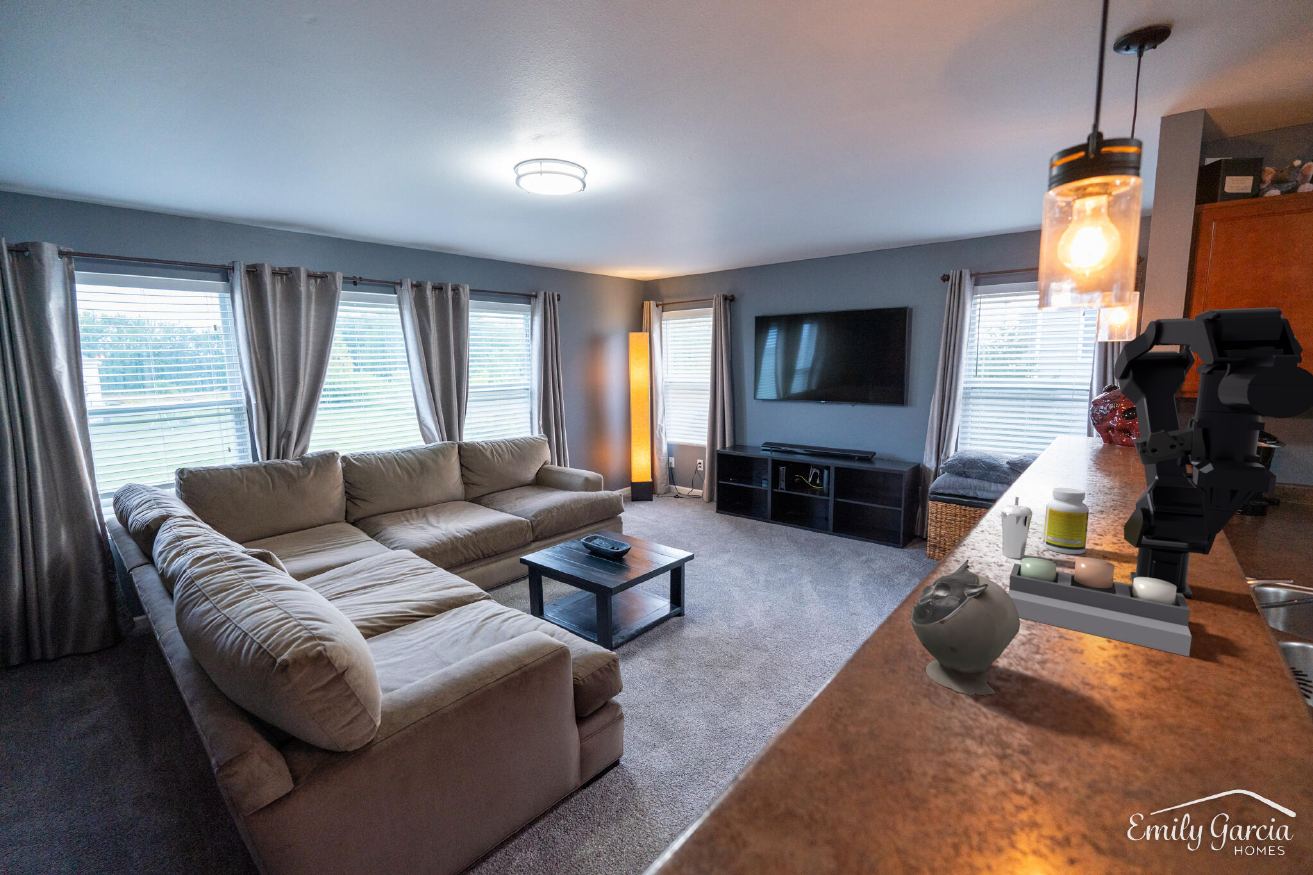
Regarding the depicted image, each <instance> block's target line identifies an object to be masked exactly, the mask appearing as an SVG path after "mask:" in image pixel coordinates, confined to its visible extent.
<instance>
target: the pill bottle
mask: <svg viewBox="0 0 1313 875" xmlns="http://www.w3.org/2000/svg"><path fill="white" fill-rule="evenodd" d="M1052 497H1053V499H1051V500H1049V501H1047V503H1046V508H1045V515H1044V517H1045V518H1044V530H1043V541H1042V542H1043V543H1042V544H1043V547H1044V548H1046V549H1047V550H1049V551H1052V552H1056V553H1059V554H1060V553H1061V554H1065V555H1066V554H1067V555H1081V554H1083V553H1085V552H1086V545H1087V535H1088V525H1089V516H1090V515H1089V514H1090V513H1089V512H1090V509H1089V506H1088V505H1087V504H1086V503H1084V501H1085V499H1086V492H1085V491H1084V490H1081V489H1077V488H1071V487H1070V488H1069V487H1054V488H1053V489H1052Z"/></svg>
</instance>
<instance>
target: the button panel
mask: <svg viewBox="0 0 1313 875" xmlns="http://www.w3.org/2000/svg"><path fill="white" fill-rule="evenodd" d="M1020 574H1021V563H1020V564H1019V563H1013V567H1012V569H1011V572H1010V576H1009V586H1008V587H1009V588H1008V591H1007V593H1008V595H1009V596H1010V597H1011V599H1012V601H1013V602H1014V604H1015V607H1016V609H1017V612H1018V616H1019V619H1024V620H1029V621H1033V622H1038V623H1041V624H1045V625H1050V626H1055V627H1059V628H1062V629H1067V630H1068V629H1069V630H1072V631H1077V632H1081V633H1085V634H1089V635H1093V636H1099V637H1103V638H1106V639H1110V640H1114V641H1115V640H1116V641H1120V642H1124V643H1128V644H1133V645H1137V646H1142V647H1146V648H1150V649H1154V650H1159V651H1163V652H1167V653H1172V654H1175V655H1179V656H1180V655H1181V656H1184V657H1190V650H1191V645H1192V644H1191V643H1192V636H1193V635H1192V634H1191V631H1190V628H1189V619H1190V611H1191V610H1190V608H1189V605H1188V603H1187V601H1186V599H1185V596H1183V594H1181V593H1176V597H1175V605H1169V604H1164V603H1158V602H1153V601H1148V600H1143V599H1137V598H1132V590H1133V585H1132V583H1131V584H1130V583H1125V582H1119V581H1115V580H1113V585H1112V587H1111V588H1096V587H1091V586H1087V585H1083V584H1081V583H1078V582H1077V581H1075V580H1074V574H1075V573H1072V572H1071V573H1069V572H1064V571H1058V570H1056V578H1055V583H1054V582H1049V581H1044V580H1038V579H1033V578H1028V577H1023V576H1020Z"/></svg>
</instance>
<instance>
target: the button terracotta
mask: <svg viewBox="0 0 1313 875" xmlns="http://www.w3.org/2000/svg"><path fill="white" fill-rule="evenodd" d="M1074 564H1075V565H1074V573H1073V574H1074V580H1075V581H1077V582H1078V583H1081V584H1083V585H1087V586H1091V587H1096V588H1111V587H1112V585H1113V581H1114V575H1115V564H1114V563H1112V562H1110V561H1106V560H1104V559H1099V558H1094V557H1088V556H1087V557H1083V556H1081V557H1077V558H1075V563H1074Z"/></svg>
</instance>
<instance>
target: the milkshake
mask: <svg viewBox="0 0 1313 875" xmlns="http://www.w3.org/2000/svg"><path fill="white" fill-rule="evenodd" d="M1019 499H1020V498H1019V497H1018V496H1015V499H1014V505H1013V504H1012V505H1011V504H1007V505H1005V506H1004V507H1002V508H1001V510H1000V512H1001V529H1002V531H1001V532H1002V533H1001V534H1002V535H1001V537H1002V538H1001V541H1002V546H1001V547H1002V556H1004V557H1006V558H1009V559H1012V560H1013V559H1015V560H1017V559H1018V560H1022V559H1023V558H1025V552H1026V547H1027V542H1028V537H1029V535H1028V534H1029V531H1030V527H1031V522H1032V518H1033V510H1032V509H1031V507H1028V506H1023V505H1019Z"/></svg>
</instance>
